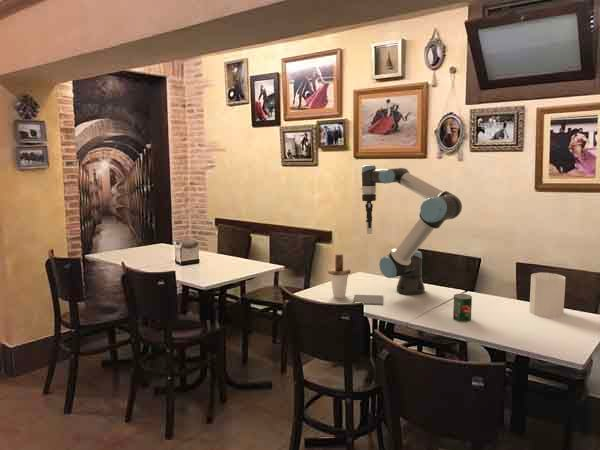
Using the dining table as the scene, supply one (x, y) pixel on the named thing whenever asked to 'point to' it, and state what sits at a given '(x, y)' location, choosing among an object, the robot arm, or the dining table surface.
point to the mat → (369, 299)
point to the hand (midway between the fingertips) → (369, 232)
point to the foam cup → (339, 285)
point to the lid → (339, 266)
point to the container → (547, 295)
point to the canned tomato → (462, 307)
